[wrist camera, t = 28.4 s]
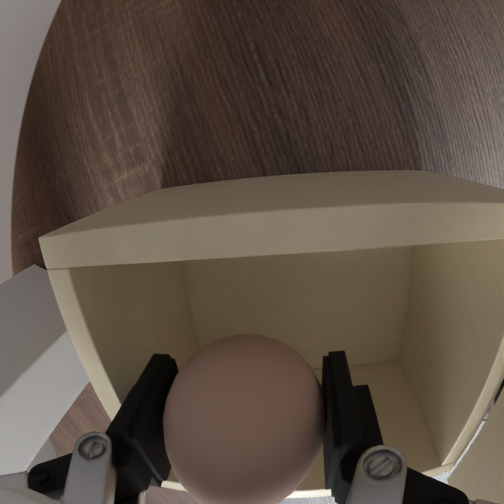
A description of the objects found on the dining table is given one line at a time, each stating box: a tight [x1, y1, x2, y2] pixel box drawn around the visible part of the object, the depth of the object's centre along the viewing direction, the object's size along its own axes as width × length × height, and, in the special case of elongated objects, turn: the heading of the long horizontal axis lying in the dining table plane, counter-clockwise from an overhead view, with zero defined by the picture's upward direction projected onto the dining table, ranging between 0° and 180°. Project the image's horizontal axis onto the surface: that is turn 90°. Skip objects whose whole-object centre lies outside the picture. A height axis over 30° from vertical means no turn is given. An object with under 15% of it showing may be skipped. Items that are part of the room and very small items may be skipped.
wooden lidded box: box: [39, 170, 504, 498], centre depth 13 cm, size 15×13×10 cm
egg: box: [163, 334, 326, 504], centre depth 9 cm, size 5×5×7 cm
